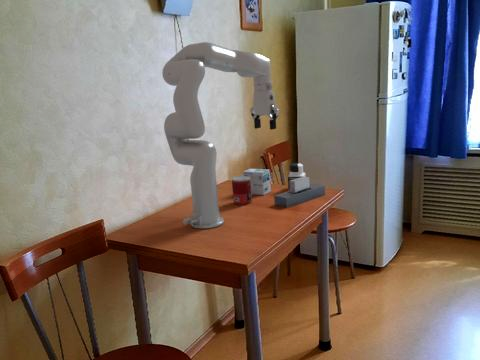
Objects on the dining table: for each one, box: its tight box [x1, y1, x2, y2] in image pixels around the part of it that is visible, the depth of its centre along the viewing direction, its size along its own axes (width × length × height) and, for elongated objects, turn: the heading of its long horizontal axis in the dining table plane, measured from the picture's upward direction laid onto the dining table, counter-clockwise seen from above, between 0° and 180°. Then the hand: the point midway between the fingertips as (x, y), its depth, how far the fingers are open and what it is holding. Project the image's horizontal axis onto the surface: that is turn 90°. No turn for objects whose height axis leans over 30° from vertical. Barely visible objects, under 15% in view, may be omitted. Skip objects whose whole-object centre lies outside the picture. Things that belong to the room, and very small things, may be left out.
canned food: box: [231, 175, 253, 206], centre depth 188 cm, size 8×8×11 cm
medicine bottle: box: [287, 162, 307, 191], centre depth 203 cm, size 7×7×12 cm
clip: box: [289, 176, 310, 194], centre depth 186 cm, size 9×3×8 cm, turn 130°
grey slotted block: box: [273, 183, 326, 209], centre depth 187 cm, size 24×7×4 cm, turn 130°
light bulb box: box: [242, 168, 272, 196], centre depth 202 cm, size 11×7×11 cm, turn 58°
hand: (265, 128), depth 189 cm, fingers open, 9 cm apart
